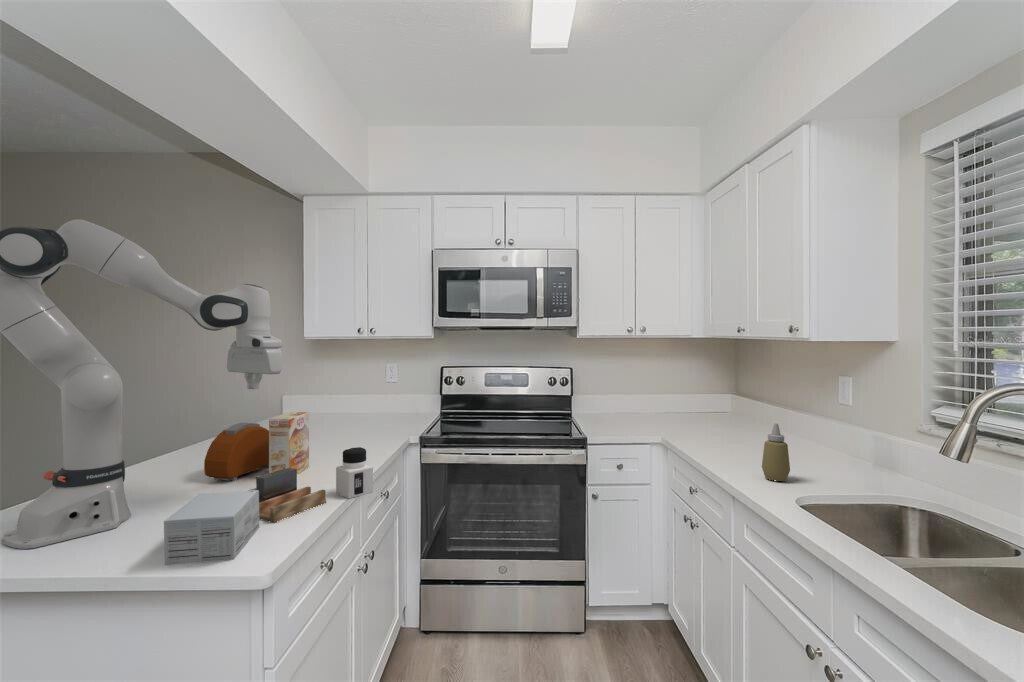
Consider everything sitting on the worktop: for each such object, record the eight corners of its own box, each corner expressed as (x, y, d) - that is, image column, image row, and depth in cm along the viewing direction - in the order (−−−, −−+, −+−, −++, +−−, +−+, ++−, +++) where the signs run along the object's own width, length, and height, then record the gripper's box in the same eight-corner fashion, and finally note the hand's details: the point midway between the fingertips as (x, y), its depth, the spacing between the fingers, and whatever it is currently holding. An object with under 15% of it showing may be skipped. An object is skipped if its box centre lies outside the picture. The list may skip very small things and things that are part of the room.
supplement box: (198, 532, 113) (198, 492, 113) (260, 528, 116) (259, 489, 116) (162, 566, 97) (162, 519, 96) (234, 560, 99) (234, 515, 99)
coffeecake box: (290, 480, 154) (289, 418, 154) (267, 479, 154) (267, 418, 154) (310, 467, 169) (310, 411, 169) (289, 467, 169) (289, 411, 169)
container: (373, 492, 142) (373, 448, 142) (348, 499, 136) (348, 453, 136) (359, 487, 147) (359, 444, 147) (335, 493, 141) (335, 448, 141)
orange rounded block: (256, 463, 174) (256, 417, 174) (278, 464, 172) (278, 417, 172) (202, 482, 151) (202, 429, 151) (227, 484, 149) (227, 430, 149)
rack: (274, 522, 119) (274, 508, 119) (225, 509, 127) (225, 496, 127) (326, 502, 133) (326, 490, 133) (279, 492, 142) (279, 480, 142)
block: (263, 509, 125) (263, 478, 125) (256, 507, 126) (256, 476, 126) (296, 497, 134) (296, 469, 134) (289, 496, 135) (289, 467, 135)
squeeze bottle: (790, 478, 157) (791, 423, 157) (789, 485, 150) (789, 427, 150) (762, 474, 161) (763, 420, 161) (760, 480, 154) (760, 424, 154)
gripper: (220, 340, 142) (220, 387, 142) (266, 341, 132) (265, 392, 132) (241, 340, 148) (241, 386, 148) (286, 341, 138) (286, 390, 138)
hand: (253, 389), depth 140 cm, fingers closed
